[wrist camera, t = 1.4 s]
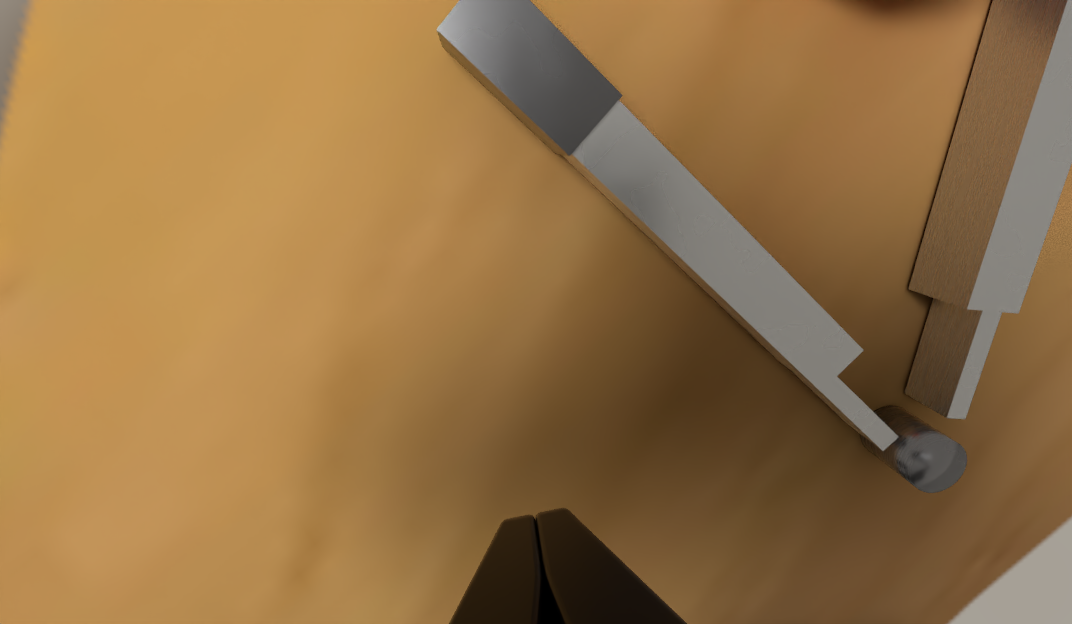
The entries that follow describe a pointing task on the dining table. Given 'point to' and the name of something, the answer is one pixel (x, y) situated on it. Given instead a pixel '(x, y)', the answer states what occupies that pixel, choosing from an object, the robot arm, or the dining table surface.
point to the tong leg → (653, 191)
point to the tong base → (986, 223)
